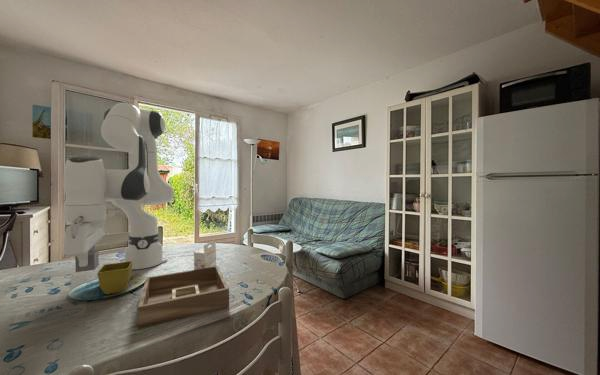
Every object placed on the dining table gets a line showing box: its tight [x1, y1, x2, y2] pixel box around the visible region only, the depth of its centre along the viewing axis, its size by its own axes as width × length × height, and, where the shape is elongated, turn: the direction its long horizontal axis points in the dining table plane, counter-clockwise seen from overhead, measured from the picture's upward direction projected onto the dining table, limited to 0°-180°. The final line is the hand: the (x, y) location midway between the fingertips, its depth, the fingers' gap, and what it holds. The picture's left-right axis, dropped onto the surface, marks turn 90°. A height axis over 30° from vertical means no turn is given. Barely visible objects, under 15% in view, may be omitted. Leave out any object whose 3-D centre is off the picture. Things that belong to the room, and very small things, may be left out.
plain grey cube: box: [74, 249, 100, 273], centre depth 67 cm, size 4×4×4 cm
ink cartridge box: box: [193, 240, 217, 270], centre depth 98 cm, size 9×5×15 cm, turn 168°
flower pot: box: [97, 261, 133, 295], centre depth 85 cm, size 9×9×9 cm
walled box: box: [137, 265, 230, 330], centre depth 79 cm, size 22×24×6 cm
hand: (87, 262), depth 67 cm, fingers closed on plain grey cube, 4 cm apart
